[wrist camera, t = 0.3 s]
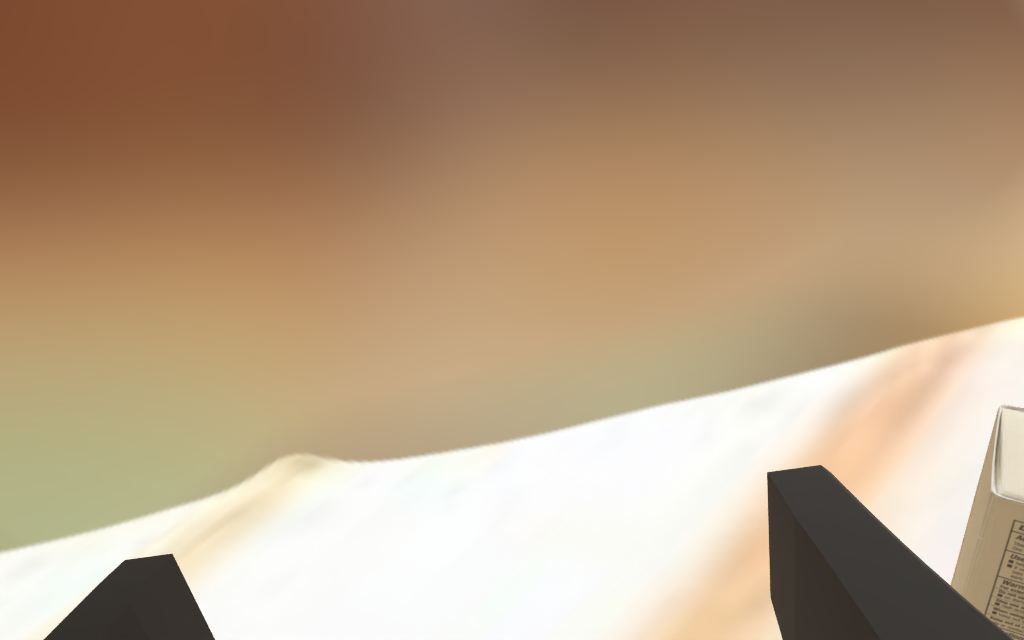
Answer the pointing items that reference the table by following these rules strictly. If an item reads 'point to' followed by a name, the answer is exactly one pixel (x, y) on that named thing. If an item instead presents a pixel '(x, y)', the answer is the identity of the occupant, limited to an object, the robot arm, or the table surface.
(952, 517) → the table surface
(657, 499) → the table surface
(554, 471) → the table surface
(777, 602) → the robot arm
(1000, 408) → the skincare box
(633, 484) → the table surface
